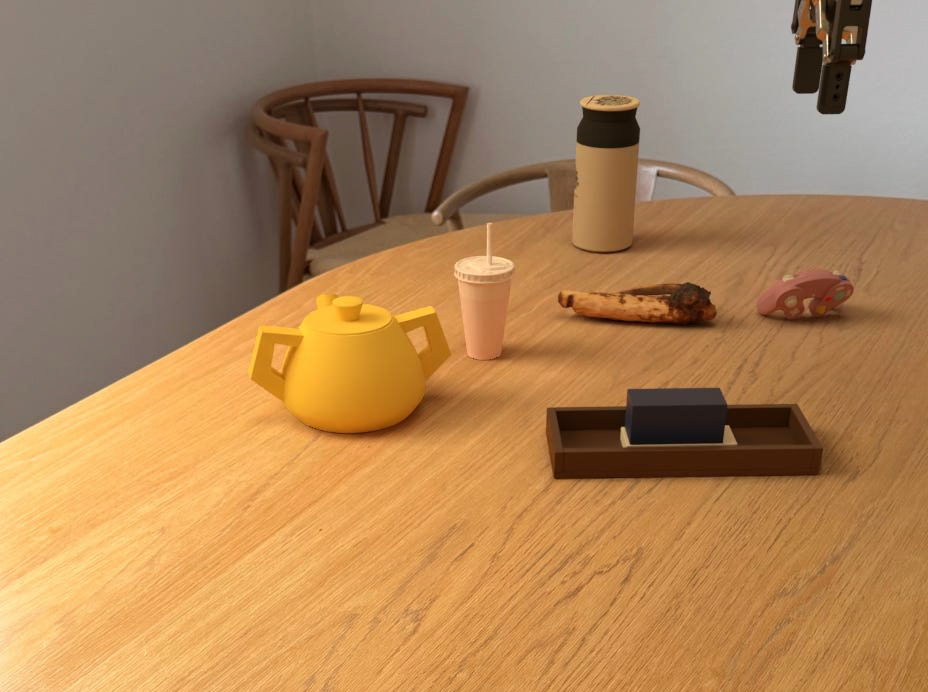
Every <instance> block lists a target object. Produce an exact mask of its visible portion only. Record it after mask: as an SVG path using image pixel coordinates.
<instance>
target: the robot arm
mask: <svg viewBox="0 0 928 692" xmlns="http://www.w3.org/2000/svg"><path fill="white" fill-rule="evenodd" d="M872 5H873V0H794V7H793V14H792V20H791V24H790V30H791V34H792V35H794V41H795V45H796V46H797V48H796V56H795V62H794V71H793V78H792V85H791V88H792V91H793V92H794V93H796V94H797V95H798V94H799V95H810V94H811V95H812V94H816V93H817V92H818V94H817V102H816V110H817V112H818V113H819V114H821V115H841V114H843V113H844V112H845V110H846V105H847V97H848V92H849V85H850V80H851V74H852V67H853V66H854V65H856V63H857V61H863V60H864V57H865V55H866V45H867V41H868V33H869V27H870V19H871V12H872ZM843 40H844V41H845V42H846V43H842V41H843Z"/></svg>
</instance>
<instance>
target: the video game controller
mask: <svg viewBox="0 0 928 692" xmlns="http://www.w3.org/2000/svg"><path fill="white" fill-rule="evenodd" d="M854 290H855V288H854V285H853V283H852V281H851V280H850V279H849V277H847V276H846V275H845V274H843V272H842V270H841V269H835V270H834V271H833V272H832V271H829V270H827V269H822V268H808V269H805V270H803V271H800V272H798V273H795V274H792V273H789V274H785V275H784V276H783V277H782V278H780V279H779V278H778V280H776V281H775V282H774V283H773V284H772V285H771V286H770V287H769V288H768V289H767V290H765V291H763V292H762V293H761V294H760V295H759V296H758V299H757V302H756V310H757V312H758V313H759V315H762V316H769V315H771V314H772V313H775V312H776V311H782V312H783V314H784V316H785V318H786V319H787V320H790V321H792V320H795V319H797V318H799V317H801V316H802V315H803V314H804V313H805V311H806V310H805V309H806V308H805V305H804V300H808V299H811V300H810V301H809V303H808V305H807V309H808V310H809V313H810V314H811V316H812V317H814V318H820V317H822V316H824V315H826V314H827V313H828V312H829V311H831V309H834V308H837V307H839V306H840V305H842V304H844V303H845V302H847V301H848V300H849V299H850V298H851V297H852V295H853V294H854Z"/></svg>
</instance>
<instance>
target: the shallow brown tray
mask: <svg viewBox="0 0 928 692" xmlns="http://www.w3.org/2000/svg"><path fill="white" fill-rule="evenodd" d="M625 414H626V405H618V406H617V405H615V406H614V405H613V406H612V405H610V406H608V405H607V406H556V407H554V406H553V407H546V414H545V415H546V416H545V419H546V421H545V435H546V440H547V447H548V453H549V458H550V464H551V471H552V476H553V479H603V478H604V479H606V478H607V479H609V478H611V479H613V478H614V479H615V478H674V477H675V478H676V477H677V478H678V477H682V478H685V477H687V478H688V477H744V476H745V477H746V476H747V477H750V476H812V475H813V476H814V475H815V476H818V475H820V471H821V469H820V468H821V464H822V458H823V452H824V447H823V445H822V444H821V442H820V440H819V439H818V437H817V435H816V433H815V431H814V430H813V428H812V426H811V425H810V423H809V420H807V418H806V416H805V415H804V413H803V410H802V409H801V407H800V406H799V404H798V403H763V404H762V403H760V404H759V403H756V404H755V403H754V404H749V403H748V404H747V403H746V404H728V406H727V414H726V422H725V425H729V427H730V429H731V431H732V433H733V436H734V438H735V440H736V442H737V446H685V447H623V446H622V442H621V439H620V436H621V427H625Z"/></svg>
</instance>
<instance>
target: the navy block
mask: <svg viewBox="0 0 928 692" xmlns="http://www.w3.org/2000/svg"><path fill="white" fill-rule="evenodd" d="M625 402H626V403H625V406H626V414H625V427H621V436H620V439H621V442H622V446H623V447H685V446H737V442H736V440H735V438H734V436H733V433H732V431H731V429H730V427H729V425H725V422H726V414H727V406H728V405H729V404H728V402H727V400H726V398H725V396H724V394H723V392H722V390H721V388H720V387H673V388H672V387H667V388H665V387H664V388H663V387H662V388H660V387H659V388H627V389H626V401H625Z"/></svg>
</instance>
